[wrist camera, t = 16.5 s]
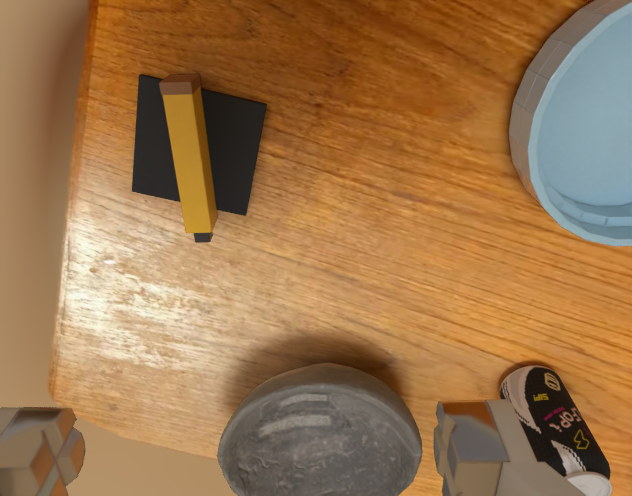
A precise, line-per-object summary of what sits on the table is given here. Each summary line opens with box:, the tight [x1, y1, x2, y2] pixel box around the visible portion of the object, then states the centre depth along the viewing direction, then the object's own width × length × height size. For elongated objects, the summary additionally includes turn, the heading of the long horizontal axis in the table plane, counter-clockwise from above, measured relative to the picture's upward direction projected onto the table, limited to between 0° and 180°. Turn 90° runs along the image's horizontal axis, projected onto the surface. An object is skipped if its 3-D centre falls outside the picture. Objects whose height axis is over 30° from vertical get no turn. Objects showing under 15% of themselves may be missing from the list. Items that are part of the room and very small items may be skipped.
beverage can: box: [500, 366, 612, 496], centre depth 44 cm, size 6×6×12 cm
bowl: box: [217, 363, 422, 496], centre depth 48 cm, size 18×18×8 cm
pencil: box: [159, 74, 218, 242], centre depth 37 cm, size 12×2×3 cm, turn 1°
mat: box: [132, 74, 267, 216], centre depth 38 cm, size 9×9×1 cm
